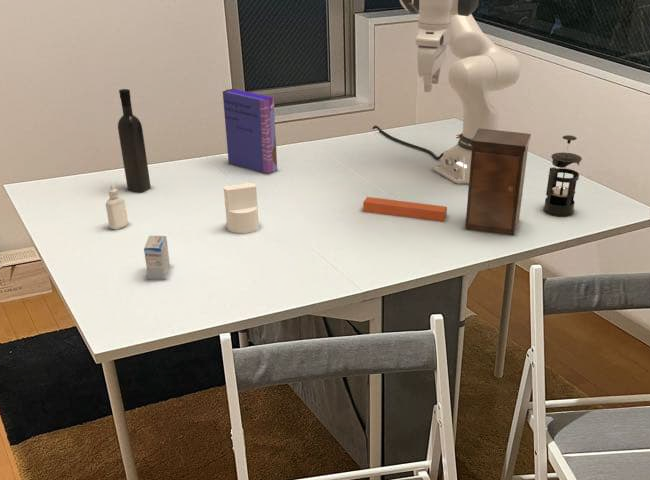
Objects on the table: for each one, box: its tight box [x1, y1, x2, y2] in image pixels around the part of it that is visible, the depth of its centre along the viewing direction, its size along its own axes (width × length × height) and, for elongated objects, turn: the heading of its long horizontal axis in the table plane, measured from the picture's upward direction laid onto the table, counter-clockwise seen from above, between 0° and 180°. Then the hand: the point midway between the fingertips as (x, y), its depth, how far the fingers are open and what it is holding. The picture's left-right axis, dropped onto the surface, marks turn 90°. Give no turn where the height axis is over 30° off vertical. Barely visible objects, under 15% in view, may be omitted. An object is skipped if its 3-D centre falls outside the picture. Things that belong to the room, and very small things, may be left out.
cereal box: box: [222, 88, 278, 175], centre depth 272 cm, size 17×5×24 cm, turn 58°
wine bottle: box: [117, 88, 152, 193], centre depth 250 cm, size 6×6×30 cm
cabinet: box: [464, 128, 532, 236], centre depth 236 cm, size 15×13×26 cm
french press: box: [542, 134, 583, 218], centre depth 248 cm, size 12×9×23 cm
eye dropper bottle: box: [105, 184, 129, 231], centre depth 231 cm, size 4×6×12 cm
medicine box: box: [143, 235, 171, 281], centre depth 208 cm, size 8×4×9 cm, turn 5°
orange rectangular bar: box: [362, 196, 448, 222], centre depth 248 cm, size 25×4×3 cm, turn 76°
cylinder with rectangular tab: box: [223, 182, 260, 234], centre depth 233 cm, size 9×9×12 cm
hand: (431, 87), depth 228 cm, fingers open, 8 cm apart
